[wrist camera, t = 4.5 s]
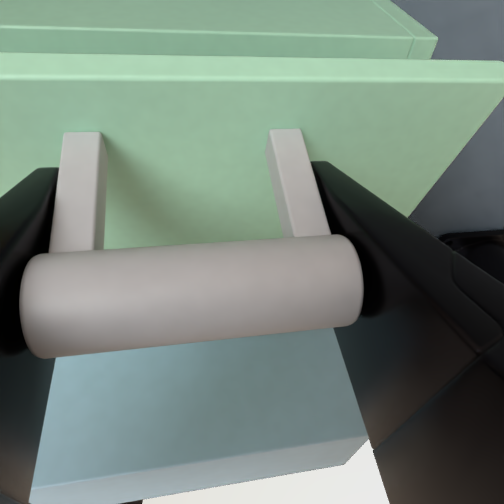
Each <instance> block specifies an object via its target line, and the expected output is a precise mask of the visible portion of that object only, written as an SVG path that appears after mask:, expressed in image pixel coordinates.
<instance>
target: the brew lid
mask: <svg viewBox="0 0 504 504" xmlns="http://www.w3.org/2000/svg"><path fill="white" fill-rule="evenodd" d="M503 97H504V62H502V61H483V60H426V59H369V58H311V57H254V56H196V55H139V54H81V53H24V52H0V197H1V196H3V195H4V194H5V193H6V192H8V191H9V190H10V189H11V188H13V187H14V186H15V185H16V184H18V183H19V182H20V181H21V180H23V179H24V178H25V177H27V176H28V175H29V174H30V173H32V172H33V171H34V170H35V169H37V168H41V167H59V174H58V182H57V190H56V198H55V205H54V213H53V221H52V229H51V237H50V245H49V253H44V254H38V255H36V256H34V257H32V258H31V259H30V260H29V262H28V263H27V265H26V267H25V270H24V273H23V277H22V281H21V287H20V298H19V309H20V320H21V326H22V331H23V335H24V339H25V341H26V344H27V346H28V348H29V350H30V351H31V353H32V354H33V355H34V356H36V357H39V358H43V359H48V358H57V357H66V356H75V355H84V354H94V353H103V352H112V351H121V350H131V349H140V348H149V347H158V346H168V345H177V344H186V343H195V342H205V341H214V340H223V339H232V338H242V337H251V336H260V335H269V334H278V333H288V332H297V331H306V330H315V329H325V328H334V327H343V326H349V325H351V324H353V323H354V322H355V321H356V320H357V319H358V317H359V315H360V313H361V309H362V305H363V297H364V283H363V274H362V268H361V264H360V260H359V257H358V254H357V252H356V250H355V248H354V246H353V244H352V243H351V241H350V240H349V239H348V238H346V237H344V236H342V235H338V234H336V235H331V232H330V228H329V225H328V221H327V218H326V215H325V211H324V208H323V204H322V201H321V197H320V194H319V190H318V187H317V183H316V180H315V176H314V173H313V170H312V166H311V163H310V161H328V162H329V163H331V164H332V165H334V166H335V167H336V168H338V169H339V170H341V171H342V172H343V173H345V174H346V175H348V176H349V177H351V178H352V179H353V180H355V181H356V182H358V183H359V184H360V185H362V186H363V187H365V188H366V189H368V190H369V191H370V192H372V193H373V194H375V195H376V196H378V197H379V198H380V199H382V200H383V201H385V202H386V203H387V204H389V205H390V206H392V207H393V208H395V209H396V210H397V211H399V212H400V213H402V214H403V215H404V216H406V217H407V218H408V216H409V215H410V214H411V213H412V211H413V210H414V209H415V208H416V206H417V205H418V204H419V203H420V201H421V200H422V199H423V198H424V196H425V195H426V194H427V193H428V191H429V190H430V189H431V188H432V186H433V185H434V184H435V183H436V181H437V180H438V179H439V178H440V176H441V175H442V174H443V173H444V171H445V170H446V169H447V168H448V166H449V165H450V164H451V163H452V161H453V160H454V159H455V158H456V156H457V155H458V154H459V153H460V151H461V150H462V149H463V148H464V146H465V145H466V144H467V143H468V141H469V140H470V139H471V138H472V136H473V135H474V134H475V133H476V131H477V130H478V129H479V128H480V126H481V125H482V124H483V123H484V121H485V120H486V119H487V118H488V116H489V115H490V114H491V113H492V111H493V110H494V109H495V108H496V106H497V105H498V104H499V102H500V101H501V100H502V99H503Z"/></svg>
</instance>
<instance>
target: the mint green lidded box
mask: <svg viewBox="0 0 504 504" xmlns="http://www.w3.org/2000/svg"><path fill="white" fill-rule="evenodd" d="M437 41H438V37H436V36H435V35H434V34H432V33H431V32H430V31H429V30H427V29H426V28H425V27H423V26H422V25H421V24H420V23H418V22H417V21H416V20H414V19H413V18H412V17H411V16H409V15H408V14H407V13H406V12H404V11H403V10H402V9H400V8H399V7H398V6H397V5H395V4H394V3H393V2H391V1H390V0H0V52H24V53H81V54H139V55H196V56H254V57H311V58H369V59H426V60H430V58H431V56H432V54H433V51H434V49H435V46H436V44H437Z"/></svg>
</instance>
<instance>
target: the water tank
mask: <svg viewBox="0 0 504 504" xmlns="http://www.w3.org/2000/svg"><path fill="white" fill-rule="evenodd" d="M368 439H369V437H368V434H367V431H366V428H365V425H364V422H363V419H362V415H361V412H360V409H359V406H358V403H357V400H356V397H355V394H354V391H353V388H352V384H351V381H350V378H349V375H348V372H347V369H346V366H345V363H344V360H343V357H342V354H341V350H340V347H339V344H338V341H337V338H336V335H335V332H334V329H333V328H325V329H315V330H306V331H297V332H288V333H278V334H269V335H260V336H251V337H242V338H232V339H223V340H214V341H205V342H195V343H186V344H177V345H168V346H158V347H149V348H140V349H131V350H121V351H112V352H103V353H94V354H84V355H75V356H66V357H57V358H56V360H55V366H54V371H53V376H52V381H51V387H50V392H49V397H48V403H47V408H46V413H45V418H44V424H43V429H42V434H41V440H40V445H39V450H38V455H37V461H36V466H35V471H34V476H33V482H32V487H31V492H30V498H29V503H31V504H120V503H126V502H131V501H137V500H143V499H149V498H154V497H160V496H166V495H172V494H177V493H183V492H189V491H195V490H201V489H206V488H212V487H218V486H224V485H230V484H235V483H241V482H247V481H253V480H258V479H264V478H270V477H276V476H282V475H287V474H293V473H299V472H305V471H311V470H316V469H322V468H328V467H334V466H339V465H344V464H345V463H346V462H347V461H348V460H349V459H350V458H351V457H352V456H353V455H354V454H355V452H356V451H357V450H358V449H359V448H360V447H361V446H362V445H363V444H364V443H365V442H366V441H367V440H368Z"/></svg>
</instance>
